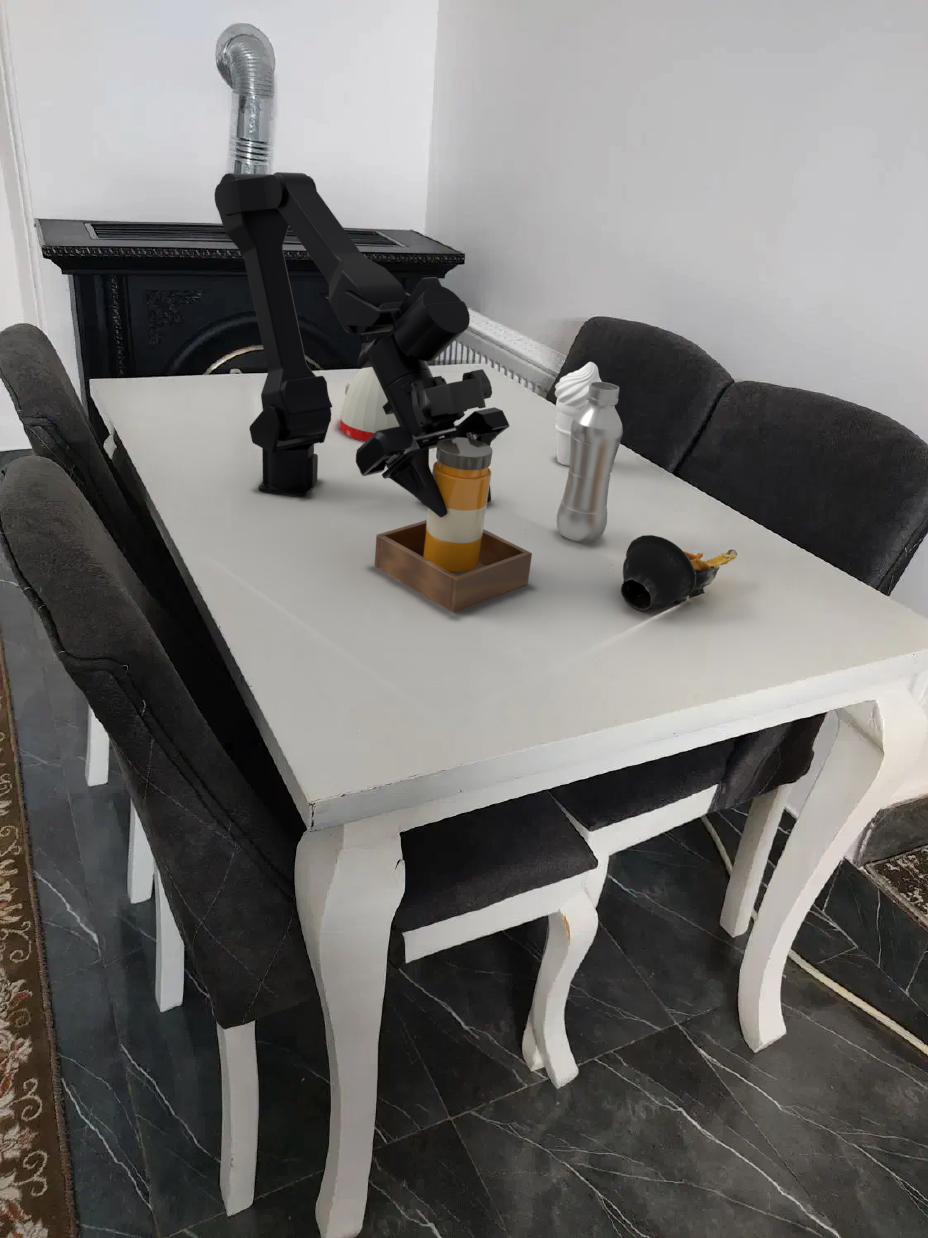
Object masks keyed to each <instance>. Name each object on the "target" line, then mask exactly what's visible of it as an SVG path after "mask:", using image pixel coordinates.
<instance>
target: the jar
mask: <svg viewBox="0 0 928 1238" xmlns="http://www.w3.org/2000/svg"><path fill="white" fill-rule="evenodd" d="M492 457H493V448H492V446H491V445H490V446H489V445H487V444H485V443H483V442H481V441H478V440H474V439H469V438H459V437H454V438H445V439H442V440H440V441H439V442H438V443H437V448H436V451H435V458H436V461H435V462H433V465H432V470H431V472H432V475H433V477H434V479H435V481H436V484H437V486H438V488H439V491H440V493H441V495H442V497H443V500H444V503H445V506H446V509H447V512H448V513H447V515H445V516H444V517H442V518H441V517H439V516H438V515H436V514H435V513H434V512H433V511H432V510H430V509H429V508H428V507H427V515H426V520H427V524H426V534H425V543H424V553H423V557H424V558H426V559H428V560H429V561H431V562H433V563H435V564H437V565H438V566H440V567H442V568H444V569H446V570H447V571H453V572H461V571H467V570H471V569H473V568H475V567H476V566H477V565H478V562H479V555H480V548H481V541H482V535H483V529H485V528H484V527H485V521H486V514H487V508H488V507H487V506H488V504H487V499H488V492H489V485H490V486H491V478H492V471H491V469H490V468H489V467H490V466H491V464H492Z"/></svg>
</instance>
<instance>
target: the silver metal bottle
mask: <svg viewBox="0 0 928 1238" xmlns="http://www.w3.org/2000/svg"><path fill="white" fill-rule="evenodd" d="M619 394H620V387H619V386H618V385H616V384H613V383H610V382H605V381H602V382H592V383H590V385H589V391H588V394H587V397H586V399H587V400H588V403H587V404H586V405H585V406H584V407H583V408H582V409H581V410H580V411H579V412H578V414H577V415H576V416H575V417H574V419H573V422H572V424H571V442H570V462H569V466H568V473H567V479H566V483H565V488H564V491H563V495H562V499H561V501H560V503H559V507H558V509H557V513H556V527H557V529H558V531H559V533H560V535H561V536H563V537H564V538H566V539H568V540H571V541H574V542H579V543H592V542H596V541H598V540H599V539H600V538H601V537H602V536H603V535H604V533H605V530H606V527H607V525H608V498H609V486H610V480H611V474H612V473H613V467H614V462H615V461H616V456H617V453H618V449H619V448H620V445H621V441H622V437H623V434H624V430H623V423H622V421H621V417H620V415H619V414H618V412H617V409H616V407H615V406H616V405H618V403H619Z"/></svg>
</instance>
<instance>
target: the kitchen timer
mask: <svg viewBox="0 0 928 1238" xmlns="http://www.w3.org/2000/svg"><path fill="white" fill-rule="evenodd" d="M344 394H345V395H344V400H343V403H342V406H341V410H340V418H339V420H340V421H339V422H340V423H339V427H340V428H339V429H340V431H341V432H342V433H343V434H344V435H345V436H347V437H349V438H351V439H355V440H356V441H357V440H358V441H361V442H364V443H365V442H366V441H367V440H368V439H369V438H370V437H371V436H372V435H373V434H374V433H375V432H376V431H379V430H384V429H389V428H394V427H399V424H398V422H397V420H396V418H395V415H394V413H393V414H388V415H386V414H385V412H384V409H383V406H384V405H385V404H386V403H387V402H388V400H387V398H386V396H385V394H384V392H383V389H382V387H381V385H380V383H379V381H378V379H377V376H376V374H375V372H374V370H373V368H372V367H368V368H361V369H360V370H359V371H358V372H357V374H355V376H354V378H353V379H352V381H351V383H349V382H346V384H345V389H344Z"/></svg>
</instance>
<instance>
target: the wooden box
mask: <svg viewBox="0 0 928 1238" xmlns="http://www.w3.org/2000/svg"><path fill="white" fill-rule="evenodd" d="M426 524H427V519H426V520H422V521H419V522H415V523H412V524H408V525H405V526H401V527H397V528H395V529H391V530H388V531H385V532H381V533H377V534H376V536H375V553H374V554H375V555H374V567H375V568H376V569H378V570H380V571H381V572H383V573H385V574H386V575H388V576H390V577H391V578H393V579H395V580H397V581H398V582H399V583H402V584H403V585H405V586H406V587H408V588H410V589H412V590H413V591H415V592H417V593H419V594H420V595H422V596H423V597H425V598H427V599H428V600H431V601H432V602H433V603H435V604H437V605H439V606H441V608H444V609H445V610H447V611H449V612H450V613H452V614H456V613H459V612H461V611H464V610H467V609H469V608H472V607H474V606H477V605H479V604H482V603H484V602H487V601H489V600H492V599H495V598H498V597H500V596H503V595H505V594H507V593H511V592H513V591H516V590H518V589H520V588H523V587H525V586H528V584H529V577H530V571H531V563H532V557H533V552H530V551H528V550H527V549H524V548H522V547H521V546H519V545H516V544H515V543H513V542H510V541H509V540H507V539H504V538H502V537H500V536H498V535H497V534H495V533H493V532H490V531H489V530H486V529H485V528H483V535H482V541H481V548H480V555H479V562H478V565H477V566H476V567H475V568H473V569H471V570H467V571H461V572H453V571H447V570H446V569H444V568H442V567H440V566H438V565H437V564H435V563H433V562H431V561H429V560H428V559H426V558H424V557H423V553H424V543H425V534H426Z"/></svg>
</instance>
